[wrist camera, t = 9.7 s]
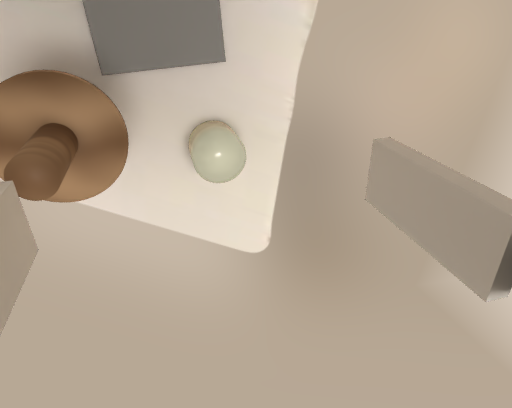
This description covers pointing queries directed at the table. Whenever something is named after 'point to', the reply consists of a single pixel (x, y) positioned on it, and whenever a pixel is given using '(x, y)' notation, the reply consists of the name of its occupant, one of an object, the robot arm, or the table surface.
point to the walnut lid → (59, 137)
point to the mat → (155, 33)
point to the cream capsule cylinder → (216, 152)
